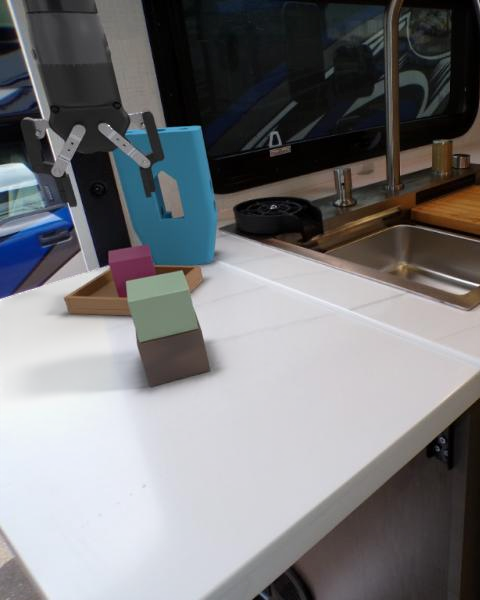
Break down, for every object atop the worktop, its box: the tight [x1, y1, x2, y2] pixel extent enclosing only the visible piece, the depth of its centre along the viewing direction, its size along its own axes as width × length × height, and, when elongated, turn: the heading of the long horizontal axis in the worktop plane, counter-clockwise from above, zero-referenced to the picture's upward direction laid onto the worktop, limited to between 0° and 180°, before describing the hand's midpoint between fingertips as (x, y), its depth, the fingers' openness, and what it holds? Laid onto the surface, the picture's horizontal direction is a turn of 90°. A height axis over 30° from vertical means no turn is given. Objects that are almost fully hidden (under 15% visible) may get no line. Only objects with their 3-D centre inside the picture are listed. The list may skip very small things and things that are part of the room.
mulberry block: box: [107, 244, 156, 298], centre depth 71 cm, size 5×5×6 cm
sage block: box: [126, 270, 198, 343], centre depth 53 cm, size 6×6×4 cm
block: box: [111, 125, 219, 266], centre depth 79 cm, size 12×5×20 cm, turn 102°
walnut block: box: [134, 306, 211, 388], centre depth 55 cm, size 6×6×5 cm
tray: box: [63, 265, 204, 317], centre depth 72 cm, size 13×11×2 cm
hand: (111, 200), depth 66 cm, fingers open, 8 cm apart
